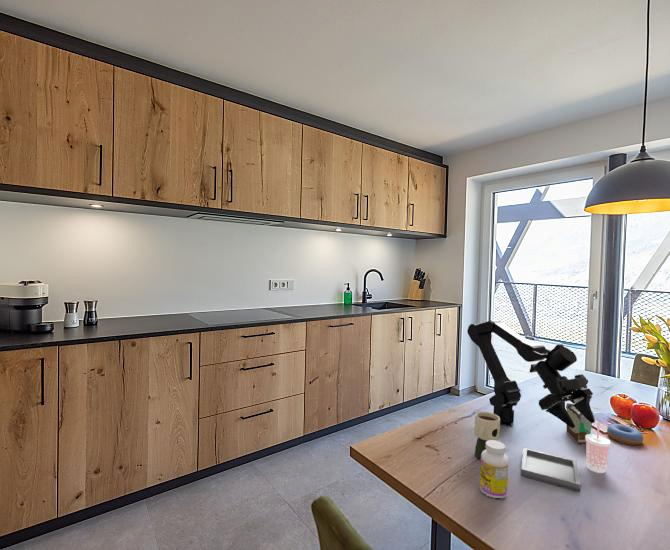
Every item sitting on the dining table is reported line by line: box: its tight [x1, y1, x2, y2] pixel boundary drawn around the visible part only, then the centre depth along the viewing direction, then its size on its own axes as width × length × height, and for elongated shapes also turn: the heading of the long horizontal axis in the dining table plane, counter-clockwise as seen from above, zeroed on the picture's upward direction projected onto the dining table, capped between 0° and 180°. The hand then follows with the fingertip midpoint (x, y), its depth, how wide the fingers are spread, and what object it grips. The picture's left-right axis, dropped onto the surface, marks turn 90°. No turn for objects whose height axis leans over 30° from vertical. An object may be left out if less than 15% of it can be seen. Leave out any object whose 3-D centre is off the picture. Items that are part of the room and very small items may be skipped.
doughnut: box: [606, 423, 644, 446], centre depth 129 cm, size 10×10×5 cm
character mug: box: [473, 411, 501, 459], centre depth 114 cm, size 11×7×13 cm, turn 141°
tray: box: [520, 447, 582, 493], centre depth 108 cm, size 14×14×2 cm
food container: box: [565, 402, 596, 445], centre depth 128 cm, size 12×6×10 cm, turn 168°
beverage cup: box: [585, 421, 611, 474], centre depth 110 cm, size 6×6×14 cm
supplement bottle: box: [479, 440, 510, 499], centre depth 97 cm, size 7×7×13 cm
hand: (583, 425), depth 113 cm, fingers open, 9 cm apart
